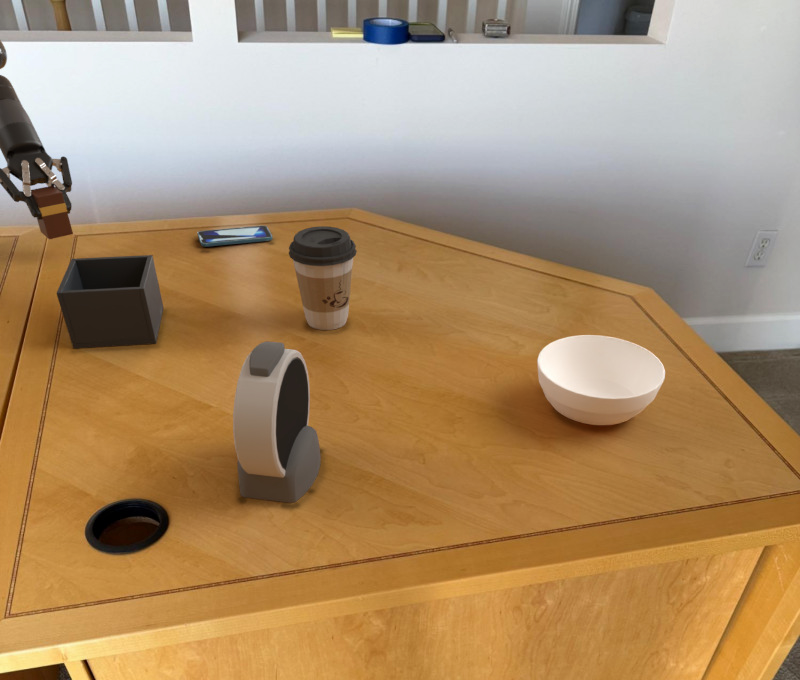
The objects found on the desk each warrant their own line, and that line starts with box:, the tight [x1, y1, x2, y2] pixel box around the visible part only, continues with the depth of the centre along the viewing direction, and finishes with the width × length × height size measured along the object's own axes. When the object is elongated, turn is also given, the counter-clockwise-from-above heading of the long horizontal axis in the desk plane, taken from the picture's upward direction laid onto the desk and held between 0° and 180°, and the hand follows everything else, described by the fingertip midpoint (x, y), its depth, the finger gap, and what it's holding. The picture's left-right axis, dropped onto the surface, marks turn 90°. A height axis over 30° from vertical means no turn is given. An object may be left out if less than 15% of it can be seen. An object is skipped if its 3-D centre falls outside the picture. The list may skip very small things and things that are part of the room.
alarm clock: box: [232, 340, 322, 504], centre depth 98 cm, size 16×10×18 cm, turn 170°
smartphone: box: [197, 225, 273, 247], centre depth 164 cm, size 7×1×15 cm
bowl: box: [536, 334, 666, 426], centre depth 114 cm, size 18×18×7 cm
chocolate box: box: [31, 186, 74, 240], centre depth 151 cm, size 5×5×8 cm
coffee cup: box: [288, 225, 358, 331], centre depth 132 cm, size 11×11×15 cm
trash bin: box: [55, 254, 164, 350], centre depth 132 cm, size 14×14×10 cm
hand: (54, 214), depth 150 cm, fingers closed on chocolate box, 5 cm apart
